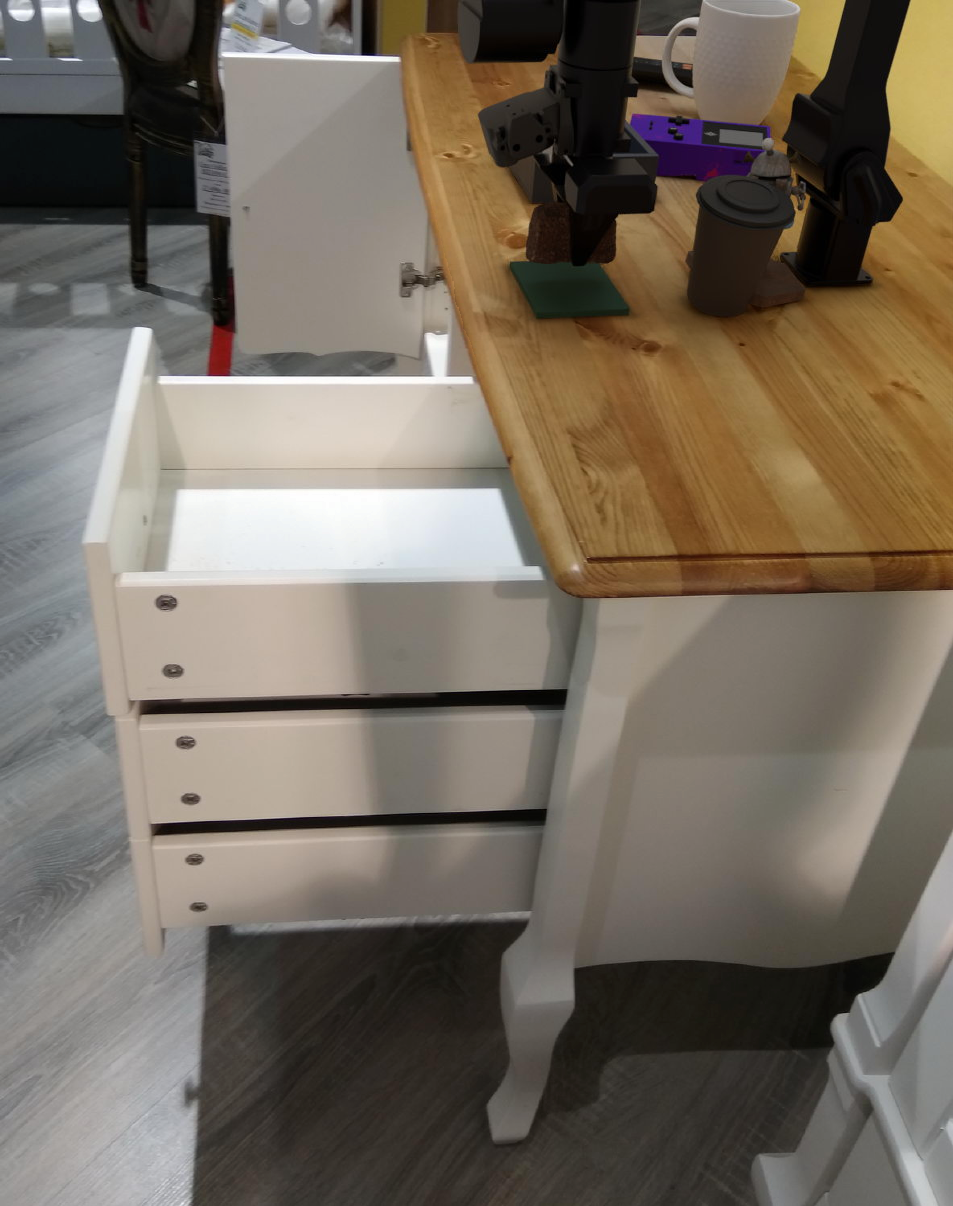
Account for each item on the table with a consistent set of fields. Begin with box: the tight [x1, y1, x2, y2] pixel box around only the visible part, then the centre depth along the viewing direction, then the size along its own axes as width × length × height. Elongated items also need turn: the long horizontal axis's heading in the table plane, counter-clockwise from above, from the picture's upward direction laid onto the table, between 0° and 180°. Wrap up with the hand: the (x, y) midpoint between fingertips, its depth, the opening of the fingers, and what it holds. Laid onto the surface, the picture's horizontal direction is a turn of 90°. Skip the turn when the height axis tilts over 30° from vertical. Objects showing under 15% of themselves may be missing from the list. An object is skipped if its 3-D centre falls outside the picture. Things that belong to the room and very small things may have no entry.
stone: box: [525, 201, 618, 265], centre depth 97 cm, size 8×3×5 cm, turn 99°
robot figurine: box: [685, 137, 807, 308], centre depth 99 cm, size 11×9×12 cm
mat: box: [508, 260, 631, 320], centre depth 100 cm, size 10×8×1 cm
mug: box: [661, 0, 802, 125], centre depth 135 cm, size 15×11×13 cm
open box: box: [508, 119, 659, 204], centre depth 120 cm, size 15×13×4 cm
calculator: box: [631, 56, 693, 88], centre depth 150 cm, size 9×12×3 cm
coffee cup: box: [686, 175, 797, 318], centre depth 96 cm, size 8×8×10 cm
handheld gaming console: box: [629, 113, 772, 183], centre depth 126 cm, size 9×5×15 cm
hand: (572, 257), depth 98 cm, fingers closed on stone, 3 cm apart
